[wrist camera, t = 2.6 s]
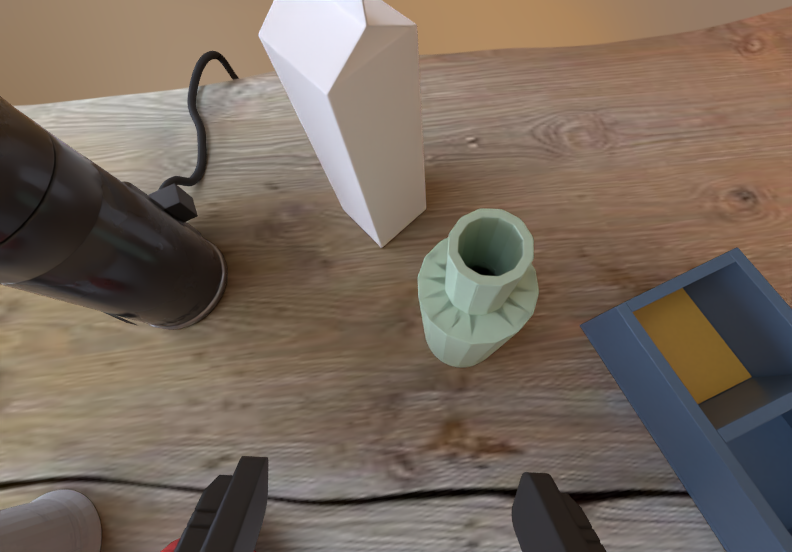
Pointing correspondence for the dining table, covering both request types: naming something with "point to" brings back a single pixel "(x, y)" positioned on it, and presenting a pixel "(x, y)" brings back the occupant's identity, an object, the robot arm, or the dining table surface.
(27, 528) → the glass holder
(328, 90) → the milk
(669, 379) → the blue divided storage box
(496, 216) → the bottle
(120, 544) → the dining table surface
